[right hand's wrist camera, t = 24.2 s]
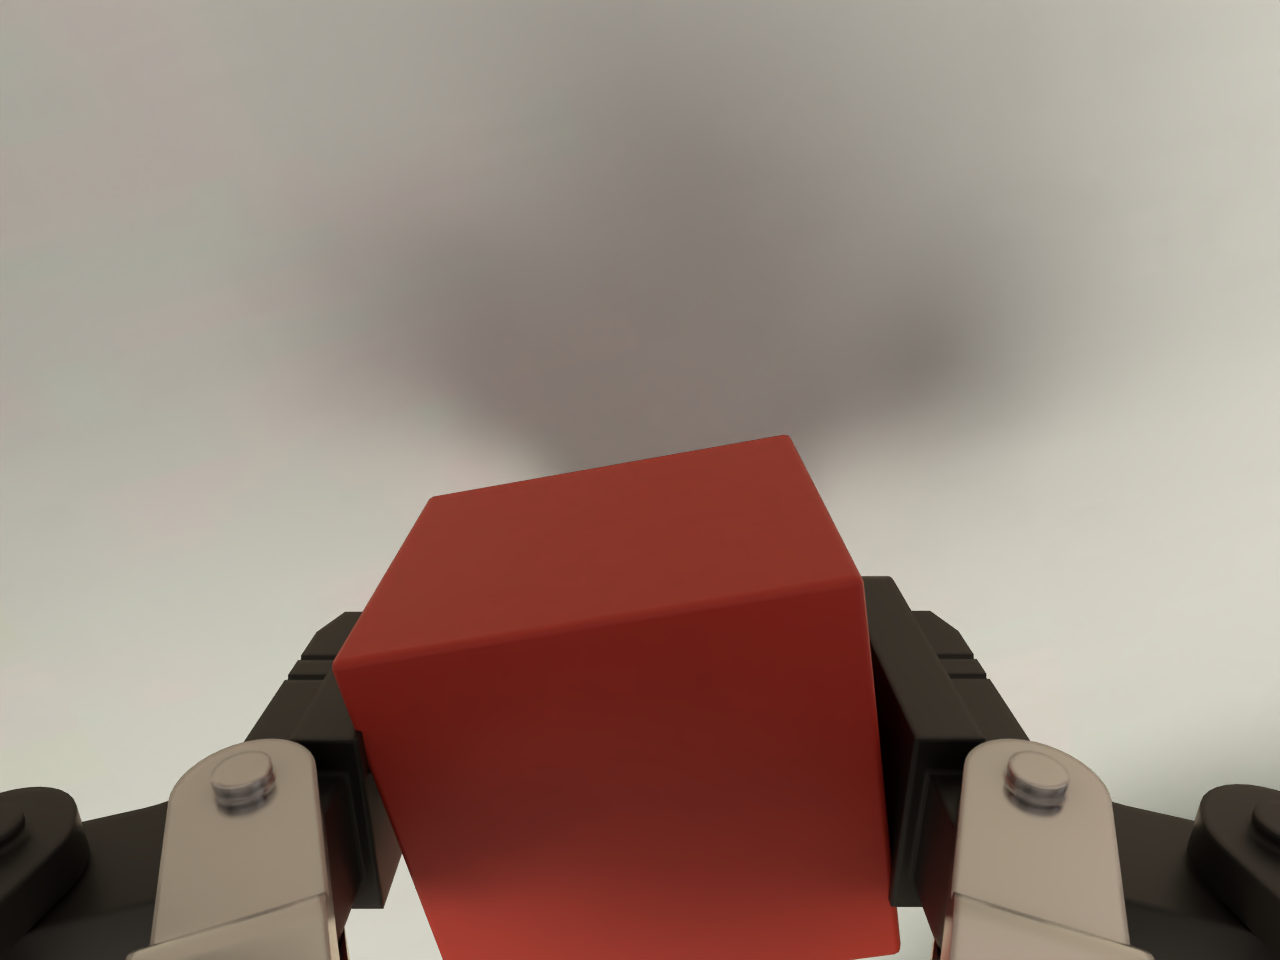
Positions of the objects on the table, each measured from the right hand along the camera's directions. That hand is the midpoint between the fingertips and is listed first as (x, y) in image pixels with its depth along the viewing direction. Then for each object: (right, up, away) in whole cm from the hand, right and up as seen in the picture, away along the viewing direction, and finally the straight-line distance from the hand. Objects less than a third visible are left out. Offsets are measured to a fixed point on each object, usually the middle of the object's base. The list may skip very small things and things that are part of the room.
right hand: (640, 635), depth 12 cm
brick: (0, 0, +1) cm, 1 cm away
